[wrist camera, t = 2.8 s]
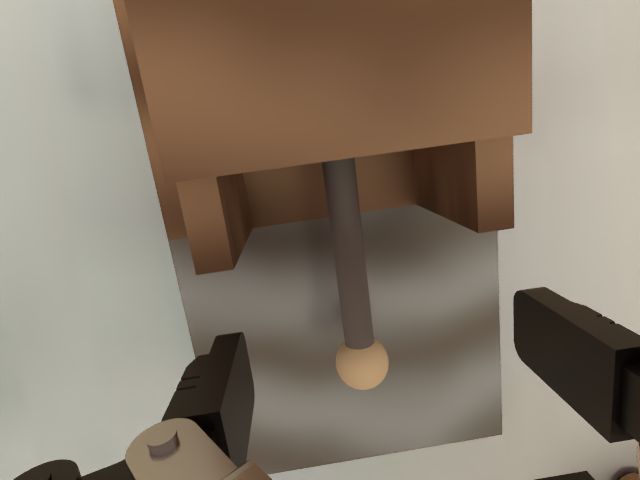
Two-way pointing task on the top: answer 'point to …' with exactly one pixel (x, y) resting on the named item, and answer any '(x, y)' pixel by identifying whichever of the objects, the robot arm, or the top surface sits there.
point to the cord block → (352, 280)
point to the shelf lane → (311, 204)
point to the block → (631, 476)
